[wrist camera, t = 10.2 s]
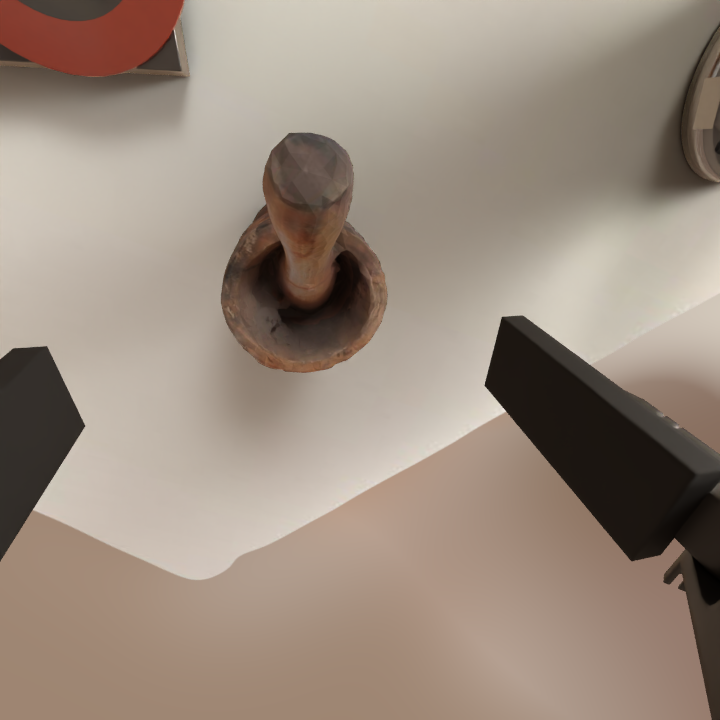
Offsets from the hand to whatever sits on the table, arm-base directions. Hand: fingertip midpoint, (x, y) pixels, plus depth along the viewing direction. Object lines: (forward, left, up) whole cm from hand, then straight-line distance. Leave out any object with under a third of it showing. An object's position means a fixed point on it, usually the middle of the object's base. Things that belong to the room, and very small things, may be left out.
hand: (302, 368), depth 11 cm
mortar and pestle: (0, 0, -22) cm, 22 cm away
